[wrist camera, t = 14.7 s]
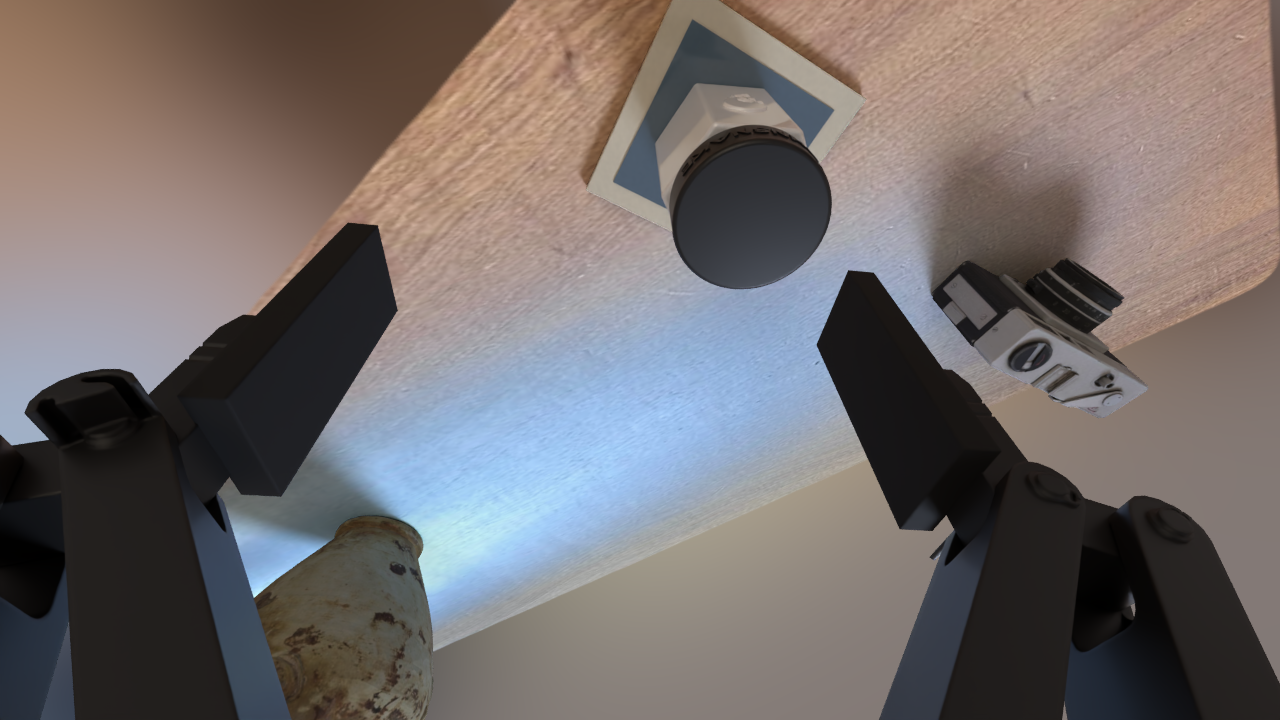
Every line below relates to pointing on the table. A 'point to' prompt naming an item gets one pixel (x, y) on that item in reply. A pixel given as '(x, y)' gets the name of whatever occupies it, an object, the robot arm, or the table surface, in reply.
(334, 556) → the vase
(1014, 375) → the camera
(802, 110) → the tile
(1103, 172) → the table surface
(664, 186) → the jar
